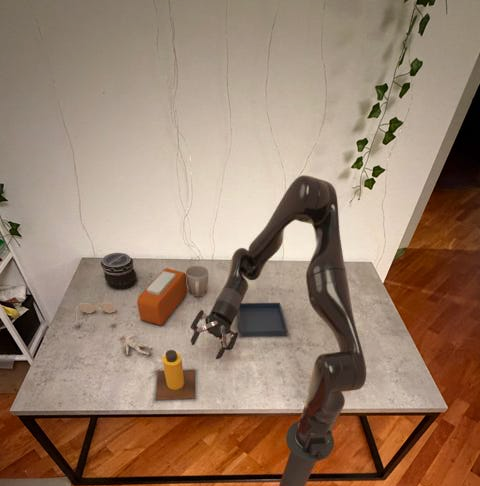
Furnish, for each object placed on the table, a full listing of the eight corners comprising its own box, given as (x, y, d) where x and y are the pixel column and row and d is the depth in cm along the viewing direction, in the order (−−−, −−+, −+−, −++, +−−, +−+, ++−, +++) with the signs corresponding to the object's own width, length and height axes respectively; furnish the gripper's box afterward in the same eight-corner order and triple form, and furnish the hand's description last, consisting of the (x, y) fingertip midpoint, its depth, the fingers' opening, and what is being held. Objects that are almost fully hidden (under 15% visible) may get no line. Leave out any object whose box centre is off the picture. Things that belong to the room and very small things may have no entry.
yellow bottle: (187, 382, 109) (184, 352, 99) (176, 392, 106) (171, 363, 96) (174, 374, 111) (170, 344, 101) (163, 384, 108) (157, 354, 98)
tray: (286, 335, 127) (287, 330, 125) (241, 336, 125) (241, 331, 123) (279, 307, 137) (279, 302, 135) (237, 308, 135) (237, 303, 133)
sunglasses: (118, 312, 130) (114, 302, 126) (116, 328, 126) (112, 319, 122) (80, 312, 129) (76, 302, 124) (77, 329, 125) (72, 320, 121)
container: (110, 272, 146) (104, 250, 138) (140, 274, 146) (135, 252, 139) (102, 289, 139) (95, 266, 131) (133, 291, 139) (128, 269, 131)
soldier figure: (143, 363, 116) (111, 347, 114) (147, 362, 120) (116, 346, 119) (153, 343, 114) (120, 326, 113) (156, 343, 119) (125, 326, 118)
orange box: (169, 288, 141) (166, 263, 132) (187, 293, 140) (185, 267, 131) (140, 322, 127) (134, 296, 118) (160, 327, 126) (156, 301, 117)
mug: (187, 286, 143) (186, 265, 135) (208, 286, 143) (208, 265, 136) (187, 303, 136) (185, 282, 128) (209, 303, 136) (208, 282, 129)
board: (194, 398, 106) (194, 397, 105) (156, 400, 105) (155, 398, 104) (194, 371, 113) (194, 369, 113) (158, 372, 112) (157, 370, 112)
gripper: (210, 289, 99) (187, 336, 96) (250, 315, 104) (229, 361, 101) (203, 298, 106) (181, 342, 103) (240, 322, 111) (220, 365, 108)
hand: (205, 351), depth 102 cm, fingers open, 8 cm apart
